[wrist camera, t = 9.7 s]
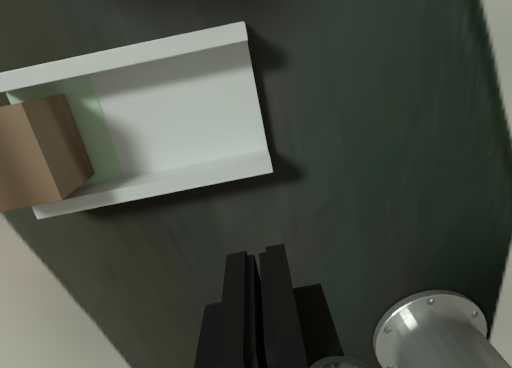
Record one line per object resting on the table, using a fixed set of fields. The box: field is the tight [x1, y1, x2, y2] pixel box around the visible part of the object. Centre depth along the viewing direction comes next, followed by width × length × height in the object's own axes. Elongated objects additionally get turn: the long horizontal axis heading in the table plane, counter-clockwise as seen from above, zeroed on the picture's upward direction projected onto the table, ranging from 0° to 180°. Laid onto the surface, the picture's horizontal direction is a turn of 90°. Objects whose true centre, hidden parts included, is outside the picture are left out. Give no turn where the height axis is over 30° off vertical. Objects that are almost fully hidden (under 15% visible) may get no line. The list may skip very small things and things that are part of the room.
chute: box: [0, 21, 273, 219], centre depth 29 cm, size 20×12×4 cm, turn 101°
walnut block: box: [0, 94, 95, 212], centre depth 27 cm, size 6×7×6 cm
